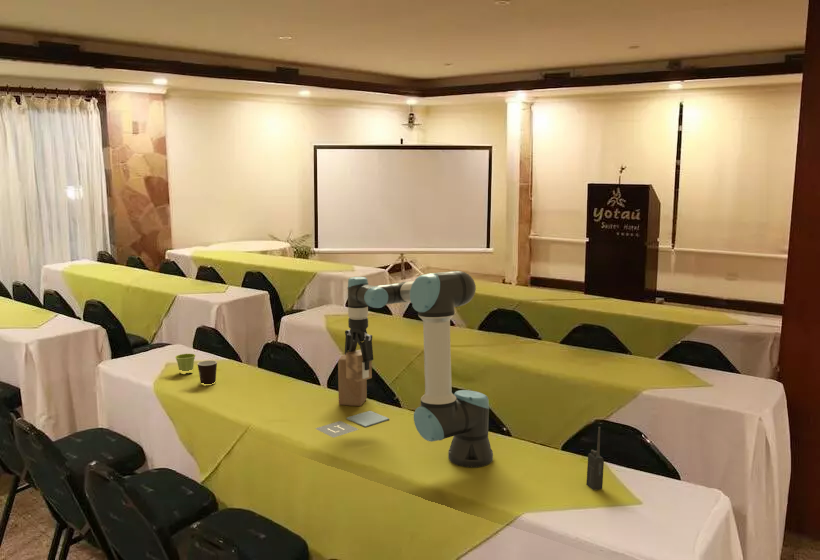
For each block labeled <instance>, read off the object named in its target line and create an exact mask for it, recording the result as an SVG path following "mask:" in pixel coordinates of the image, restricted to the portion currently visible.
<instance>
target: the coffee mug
mask: <svg viewBox="0 0 820 560" xmlns="http://www.w3.org/2000/svg"><path fill="white" fill-rule="evenodd" d="M217 364H218V361H216V360H212V359H210V360H209V359H208V360H201V361H199V362H197V364H196V365H197V368H198V369H197V370H198V375H199V382H200V384H201V383H204V384H212V383H214V382H215V381H216V380H217ZM216 382H217V381H216ZM216 382H215V383H216Z"/></svg>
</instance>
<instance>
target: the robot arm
mask: <svg viewBox="0 0 820 560" xmlns="http://www.w3.org/2000/svg"><path fill="white" fill-rule="evenodd" d="M368 280H369V279H368V278H367V277H366V276H352V277H349V278H348V280H347V303H348V305H347V316H348V325H347V326H348V328H349V329H346V330H345V331H344V334H345V342H344V354H345V355H346V353H347V352H352V351H356V350H357V346H358V345H359V348H360V349H359V350H361V353H362V357H363V361H362V379H365V378H368V377H369V362H370V361H372V362H373V361H374V353H373V352H374V350H373V335H372V334H369V333H368V331H367V329H368V327H369V318H368V316H369V307H370V308H372V309H373V308H374V309H380V308H383V307H385V306H386V305H387V306H388V305H392V304H402V303H403V304H404V303H410V304H412V305H411V306H412V308H413V309H414V311H416V312H417V315H418V317H419V318H420V319H421V320H422V325H423V332H422V333H423V362H424V364H423V366H424V394H423V395H422V396H421V397H420V406H418V407H417V408H415V411H414V412H413V421H414V422H413V423H414V426H415V429H416V431H417V432H418V434H419V435H420V437H422V438H423V439H424V441H428V442H430V443H431V442H436V441H443V440H444V439H448V438H451V437H452V439H451V444H450V446H449V449H448V453H447V455H448V456H447V457H448V460H449V462H450V463H452V464H454V465H457V466H459V467H463V468H481V467H485V466H488V465H490V464H491V463H492V462H493V460H494V452H493V449H492V447H491V443H490V439H489V421H490V420H489V417H490V416H489V415H490V405H489V402H490V401H489V397H488V396H487V395H486V394H484V393H482V392H479V391H475V390H466V389H461V390H455V392H454V393H453V392H452V359H451V357H452V354H451V352H452V351H451V350H452V349H451V347H452V345H451V320H452V318H453V317H454V316H455V308H457V307H462V306H465V305H466V304H467V305H468V303H470V302H471V301H472V300H473V298H474V297H475V294H476V291H477V290H476V289H477V287H476V286H477V285H476V282H475V280H474V278H473V276H471V275H470V274H469V273H467V272H464V271H461V270H451V271H442V272H431V273H429V272H428V273H426V274H422V275H419V276H417V277H416V278H415V279H414V281H413V280H412V281H403V282H396V283H388V284H386V283H385V284H377V285H371V284H369V281H368Z"/></svg>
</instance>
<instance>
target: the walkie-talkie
mask: <svg viewBox="0 0 820 560" xmlns="http://www.w3.org/2000/svg"><path fill="white" fill-rule="evenodd" d="M597 430H598V431H597V442H596V443H597V445H596V450H594V449H591V450H590V453H588V455H587V468H586V469H587V470H586V482H585V483H586V486H587V487H589V488H590V489H591V490H592V491H598V490H603V486H604V485H603V483H604V466H605V465H604V463H605V461H604V457H603V456H601V455H600V454H601V452H600V447H601V426H598V429H597Z"/></svg>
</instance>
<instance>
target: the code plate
mask: <svg viewBox="0 0 820 560" xmlns="http://www.w3.org/2000/svg"><path fill="white" fill-rule="evenodd" d="M314 429H315V430H317V431H319V432H320V433H323V434H325V435H327V436H329V437H331V438H337V437H340V436H343V435H346V434H349V433H353V432H356V431H359V430H360V428H357V427H354V426H352V425H351V424H348V423H346V422H344V421H341V420H338V421H335V422H331V423H329V424H324V425H322V426H318V427H315V428H314Z"/></svg>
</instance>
